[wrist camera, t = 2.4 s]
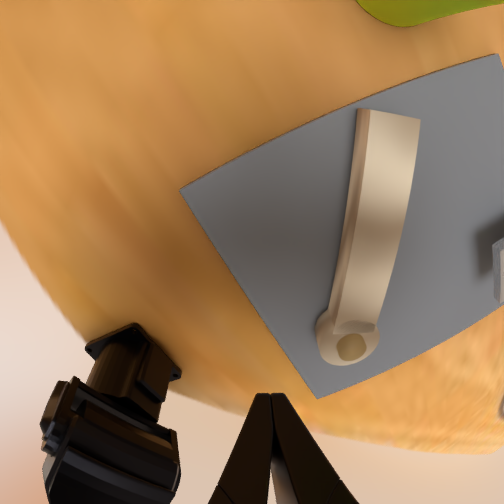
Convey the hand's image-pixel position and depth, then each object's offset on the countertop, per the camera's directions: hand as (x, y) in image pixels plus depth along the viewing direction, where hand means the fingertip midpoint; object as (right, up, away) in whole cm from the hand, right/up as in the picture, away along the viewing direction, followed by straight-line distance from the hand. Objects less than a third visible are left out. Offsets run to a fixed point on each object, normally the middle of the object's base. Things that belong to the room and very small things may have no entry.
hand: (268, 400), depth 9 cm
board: (+11, +5, +12) cm, 17 cm away
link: (+6, +5, +11) cm, 14 cm away
